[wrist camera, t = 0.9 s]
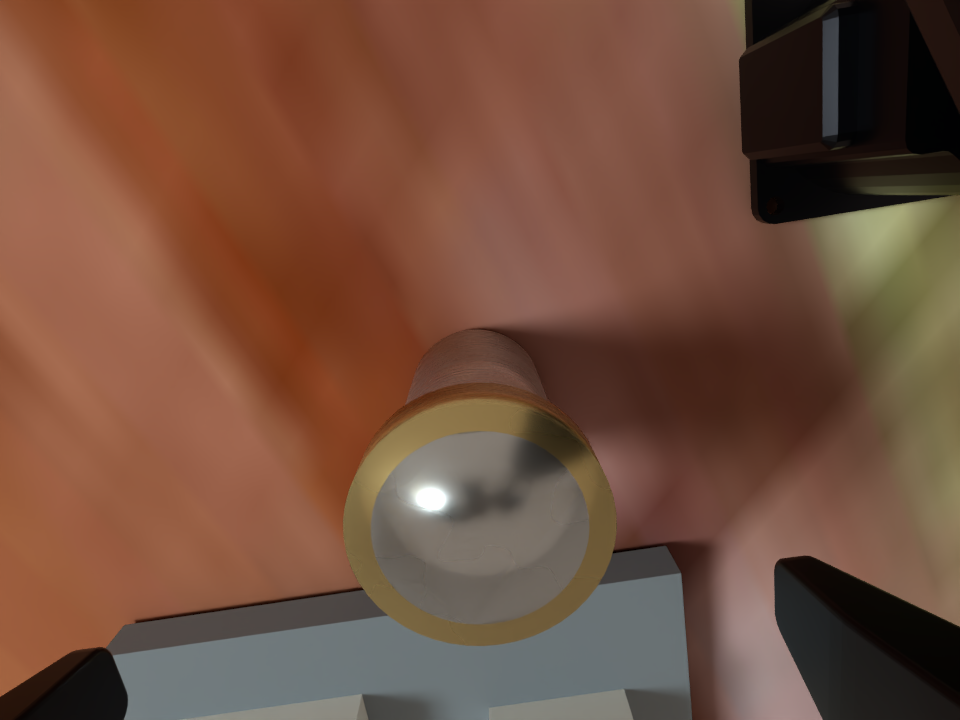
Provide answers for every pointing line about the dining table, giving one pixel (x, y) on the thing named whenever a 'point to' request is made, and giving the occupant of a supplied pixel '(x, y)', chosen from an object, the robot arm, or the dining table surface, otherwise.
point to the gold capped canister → (479, 501)
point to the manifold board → (417, 660)
